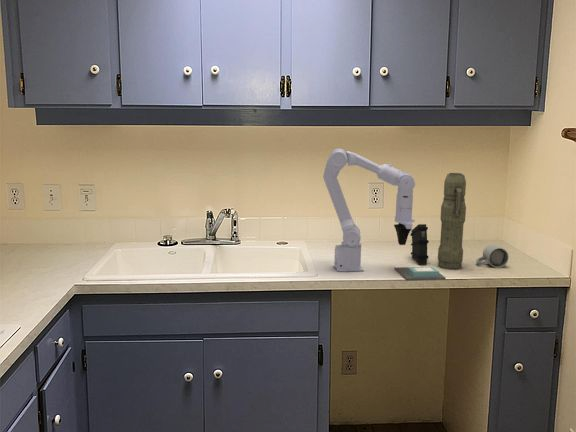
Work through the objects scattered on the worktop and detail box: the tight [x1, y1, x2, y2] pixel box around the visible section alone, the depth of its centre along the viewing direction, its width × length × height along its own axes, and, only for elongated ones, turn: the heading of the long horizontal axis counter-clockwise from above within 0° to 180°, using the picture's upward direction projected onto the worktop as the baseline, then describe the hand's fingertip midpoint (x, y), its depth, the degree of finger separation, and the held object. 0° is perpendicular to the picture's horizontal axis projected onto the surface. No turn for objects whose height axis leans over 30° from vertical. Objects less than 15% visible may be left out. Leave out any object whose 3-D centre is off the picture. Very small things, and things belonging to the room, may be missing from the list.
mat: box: [393, 266, 447, 281], centre depth 206 cm, size 14×14×1 cm
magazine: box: [409, 223, 429, 266], centre depth 223 cm, size 4×13×15 cm, turn 3°
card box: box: [408, 266, 440, 278], centre depth 203 cm, size 9×2×6 cm
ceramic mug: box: [475, 244, 510, 269], centre depth 219 cm, size 11×8×8 cm
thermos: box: [437, 172, 467, 271], centre depth 214 cm, size 9×12×35 cm
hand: (401, 244), depth 209 cm, fingers closed
